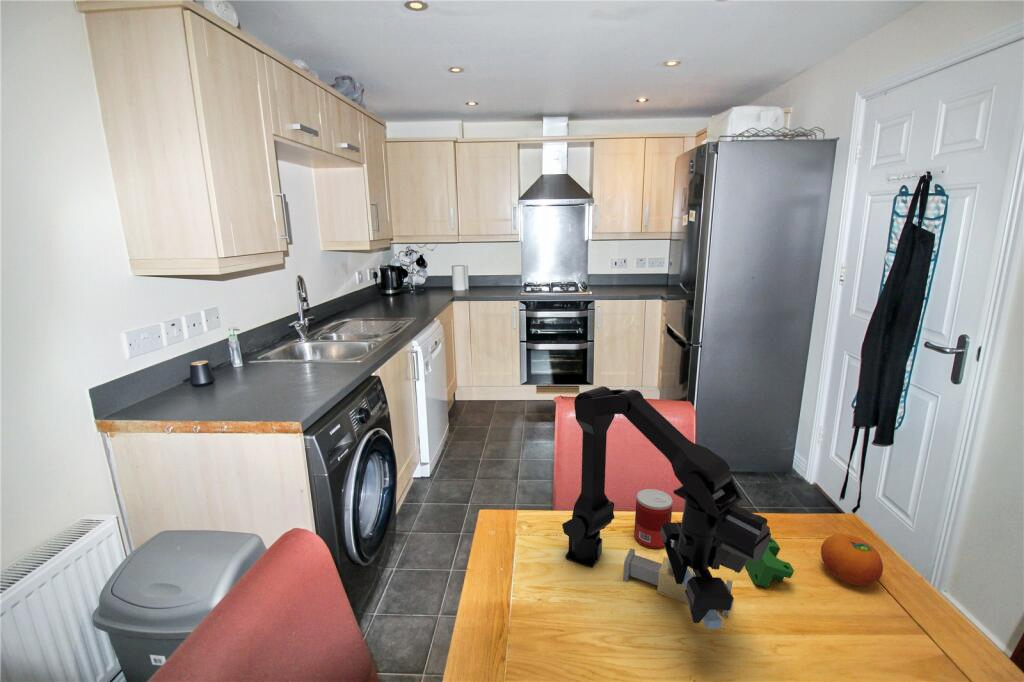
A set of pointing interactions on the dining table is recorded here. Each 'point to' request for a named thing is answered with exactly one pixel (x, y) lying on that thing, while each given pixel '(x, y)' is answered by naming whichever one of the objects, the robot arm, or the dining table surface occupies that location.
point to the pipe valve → (659, 576)
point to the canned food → (651, 517)
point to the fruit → (851, 559)
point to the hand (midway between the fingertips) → (687, 601)
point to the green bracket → (769, 567)
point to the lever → (712, 617)
